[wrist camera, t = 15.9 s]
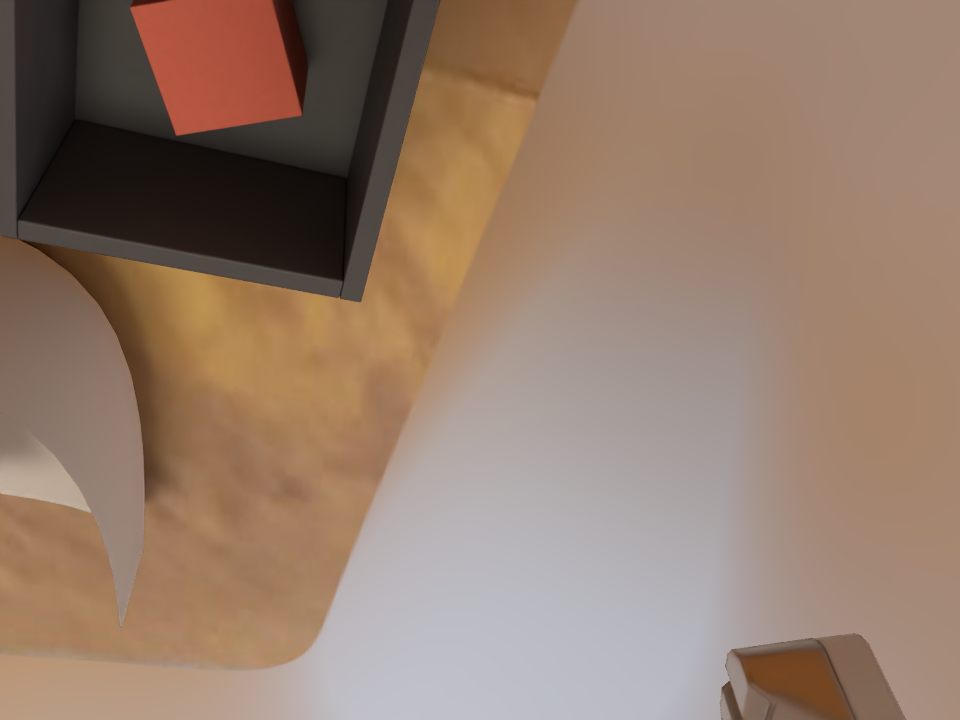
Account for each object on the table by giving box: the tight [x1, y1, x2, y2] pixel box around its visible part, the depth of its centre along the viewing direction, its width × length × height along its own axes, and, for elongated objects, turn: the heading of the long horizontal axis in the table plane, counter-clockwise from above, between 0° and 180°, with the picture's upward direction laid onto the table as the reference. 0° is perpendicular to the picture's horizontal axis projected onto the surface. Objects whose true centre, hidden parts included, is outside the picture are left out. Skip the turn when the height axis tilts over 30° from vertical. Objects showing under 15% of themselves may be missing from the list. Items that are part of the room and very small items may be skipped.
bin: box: [0, 0, 440, 302], centre depth 32 cm, size 13×13×9 cm
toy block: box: [130, 0, 309, 136], centre depth 33 cm, size 5×5×5 cm
